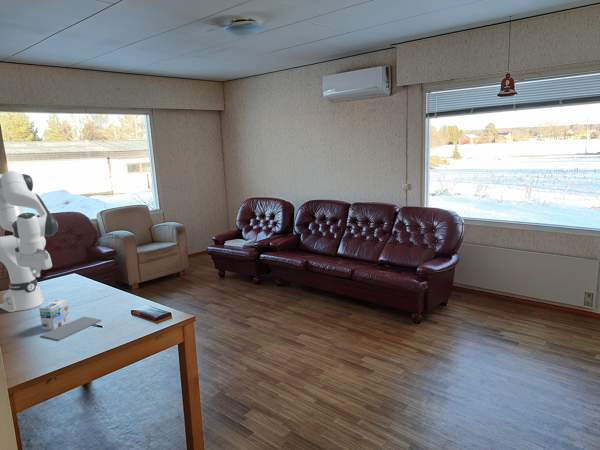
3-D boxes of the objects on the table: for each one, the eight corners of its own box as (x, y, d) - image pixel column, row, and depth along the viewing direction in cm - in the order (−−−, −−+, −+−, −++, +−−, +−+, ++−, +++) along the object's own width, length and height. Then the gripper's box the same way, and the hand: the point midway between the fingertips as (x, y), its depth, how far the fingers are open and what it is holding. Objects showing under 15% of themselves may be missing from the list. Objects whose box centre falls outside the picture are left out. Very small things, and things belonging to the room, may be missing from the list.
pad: (40, 336, 187) (40, 335, 186) (83, 317, 206) (83, 316, 206) (58, 340, 182) (58, 339, 182) (101, 320, 201) (101, 319, 201)
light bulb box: (54, 330, 192) (50, 308, 190) (41, 329, 194) (38, 307, 192) (71, 321, 203) (68, 299, 201) (59, 320, 204) (55, 299, 202)
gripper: (53, 248, 194) (57, 276, 196) (24, 245, 202) (29, 272, 205) (40, 251, 188) (44, 280, 191) (11, 248, 196) (16, 276, 199)
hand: (36, 276), depth 198 cm, fingers closed
